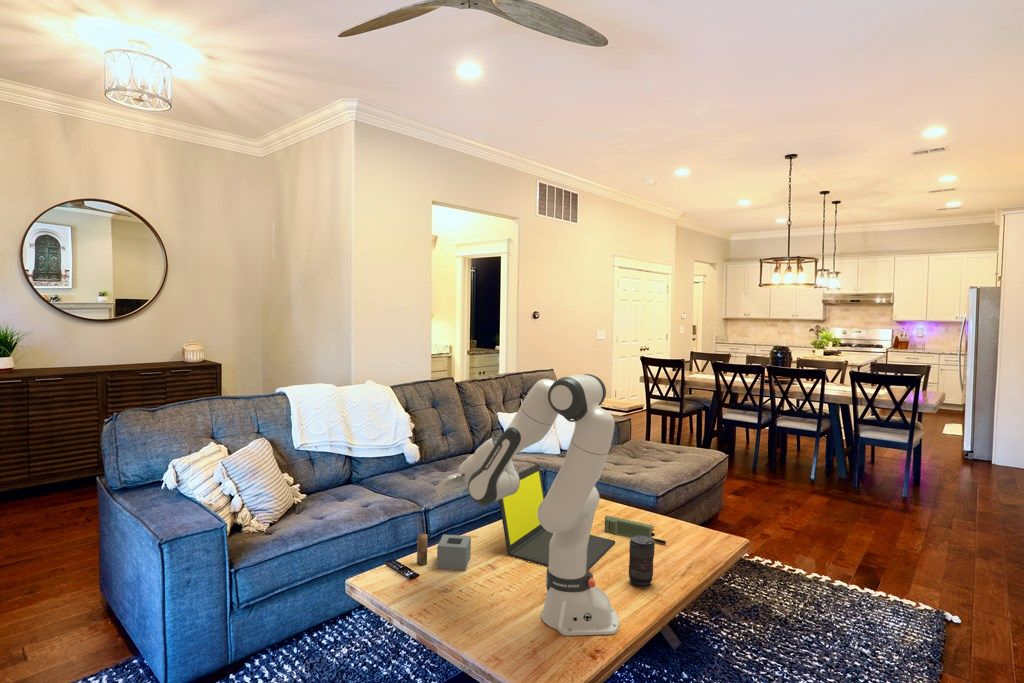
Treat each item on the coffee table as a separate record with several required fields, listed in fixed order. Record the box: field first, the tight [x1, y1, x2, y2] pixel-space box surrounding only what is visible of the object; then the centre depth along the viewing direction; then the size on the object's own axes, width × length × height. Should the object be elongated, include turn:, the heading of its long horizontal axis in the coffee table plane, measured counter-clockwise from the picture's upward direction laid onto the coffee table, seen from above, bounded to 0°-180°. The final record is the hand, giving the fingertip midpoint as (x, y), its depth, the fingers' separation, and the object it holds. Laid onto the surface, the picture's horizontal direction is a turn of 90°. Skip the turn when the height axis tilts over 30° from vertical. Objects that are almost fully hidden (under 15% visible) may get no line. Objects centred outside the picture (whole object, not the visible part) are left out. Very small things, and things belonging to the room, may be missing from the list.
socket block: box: [436, 534, 472, 572], centre depth 199 cm, size 10×10×8 cm
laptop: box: [498, 463, 616, 571], centre depth 214 cm, size 33×35×26 cm
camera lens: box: [628, 535, 656, 589], centre depth 188 cm, size 8×8×15 cm
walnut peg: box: [416, 533, 429, 567], centre depth 197 cm, size 4×4×10 cm
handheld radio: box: [604, 515, 667, 545], centre depth 226 cm, size 7×3×25 cm
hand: (448, 493), depth 190 cm, fingers open, 8 cm apart
